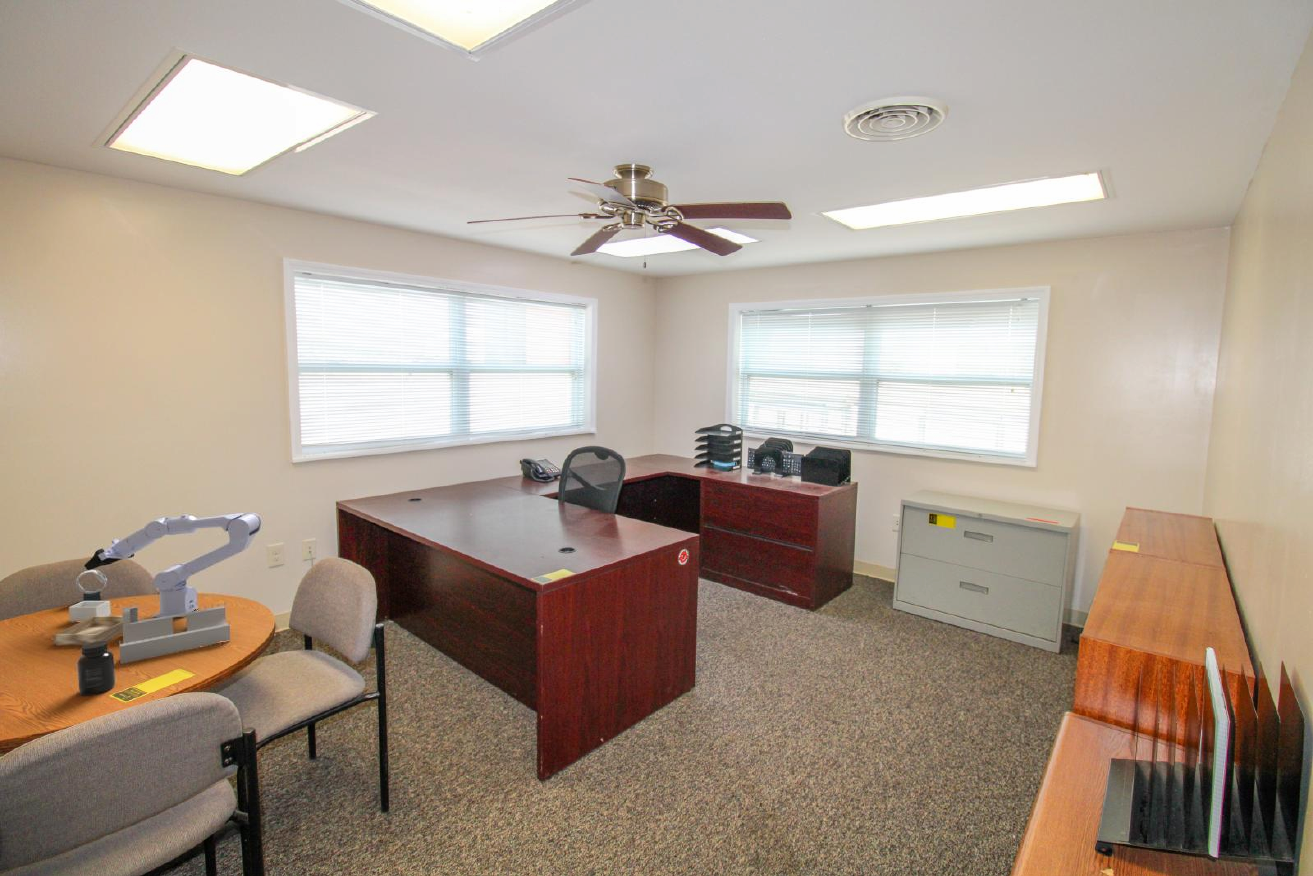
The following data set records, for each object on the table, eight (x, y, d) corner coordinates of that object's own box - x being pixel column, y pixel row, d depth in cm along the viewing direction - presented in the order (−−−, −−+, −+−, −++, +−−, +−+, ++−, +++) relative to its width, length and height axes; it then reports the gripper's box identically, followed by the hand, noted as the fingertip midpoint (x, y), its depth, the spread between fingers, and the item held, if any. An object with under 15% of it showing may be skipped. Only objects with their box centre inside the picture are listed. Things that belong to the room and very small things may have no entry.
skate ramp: (120, 665, 166) (118, 630, 165) (124, 635, 184) (122, 604, 182) (230, 642, 182) (229, 610, 181) (224, 617, 199) (223, 588, 198)
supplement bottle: (122, 682, 157) (120, 639, 155) (99, 696, 150) (96, 651, 149) (95, 682, 156) (93, 638, 155) (71, 696, 150) (68, 650, 148)
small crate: (110, 615, 196) (110, 601, 196) (97, 622, 191) (96, 607, 190) (84, 615, 195) (83, 601, 195) (70, 622, 190) (68, 607, 190)
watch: (108, 601, 208) (107, 570, 207) (76, 606, 202) (74, 575, 201) (108, 596, 212) (106, 566, 211) (77, 601, 206) (75, 570, 205)
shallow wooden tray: (135, 625, 190) (134, 615, 190) (98, 645, 176) (97, 635, 176) (94, 625, 189) (93, 615, 188) (54, 645, 175) (53, 635, 174)
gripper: (143, 528, 203) (106, 549, 201) (110, 536, 188) (70, 560, 187) (156, 545, 203) (118, 567, 202) (124, 555, 189) (83, 578, 188)
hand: (96, 564), depth 194 cm, fingers open, 7 cm apart
